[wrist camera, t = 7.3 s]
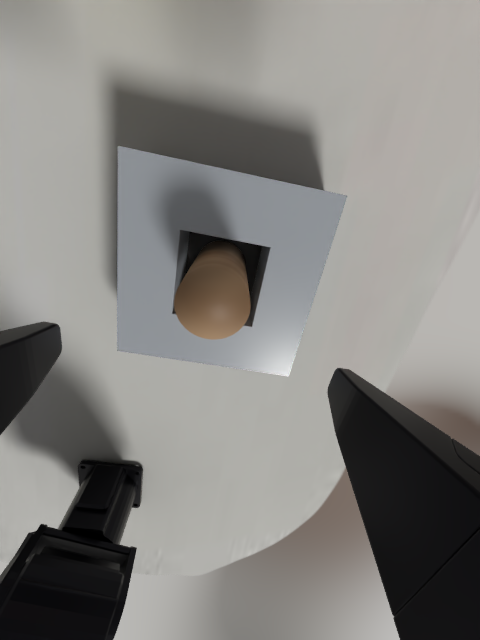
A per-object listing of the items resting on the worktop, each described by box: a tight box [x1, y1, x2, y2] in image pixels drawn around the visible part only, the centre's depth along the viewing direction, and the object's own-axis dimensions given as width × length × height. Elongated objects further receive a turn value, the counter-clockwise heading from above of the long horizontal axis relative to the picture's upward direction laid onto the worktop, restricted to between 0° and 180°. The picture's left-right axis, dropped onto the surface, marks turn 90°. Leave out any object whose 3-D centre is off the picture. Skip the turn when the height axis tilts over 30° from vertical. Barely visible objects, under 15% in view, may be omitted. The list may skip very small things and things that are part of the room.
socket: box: [117, 146, 347, 376], centre depth 18 cm, size 12×12×4 cm
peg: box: [174, 240, 251, 340], centre depth 16 cm, size 4×4×8 cm
